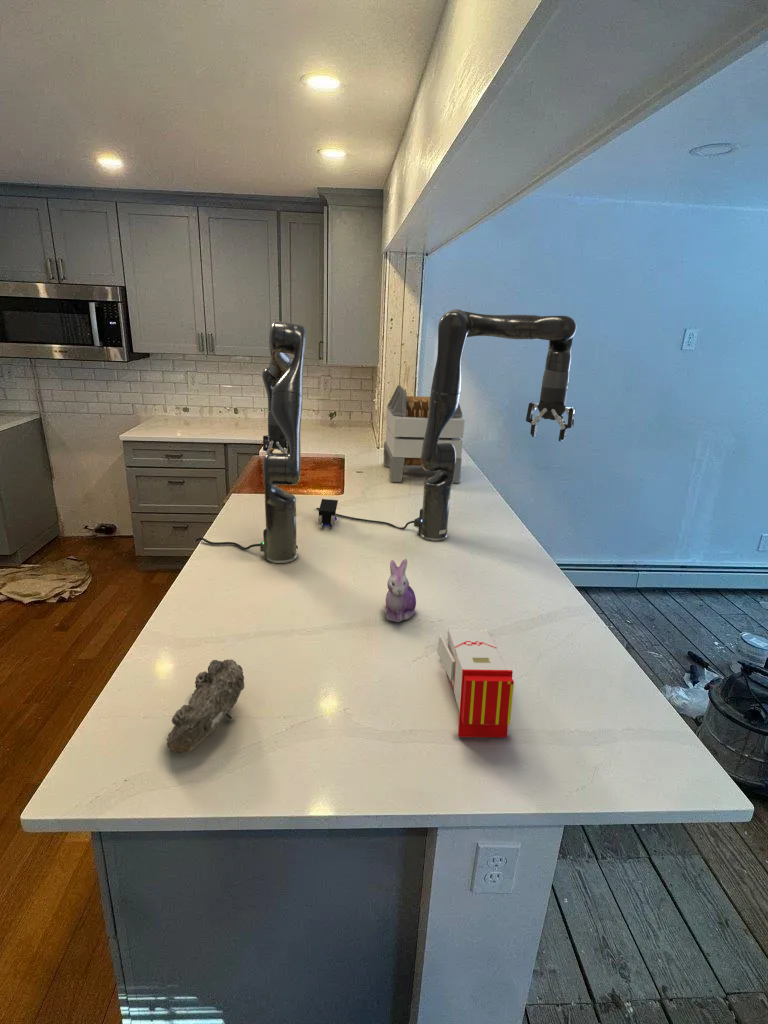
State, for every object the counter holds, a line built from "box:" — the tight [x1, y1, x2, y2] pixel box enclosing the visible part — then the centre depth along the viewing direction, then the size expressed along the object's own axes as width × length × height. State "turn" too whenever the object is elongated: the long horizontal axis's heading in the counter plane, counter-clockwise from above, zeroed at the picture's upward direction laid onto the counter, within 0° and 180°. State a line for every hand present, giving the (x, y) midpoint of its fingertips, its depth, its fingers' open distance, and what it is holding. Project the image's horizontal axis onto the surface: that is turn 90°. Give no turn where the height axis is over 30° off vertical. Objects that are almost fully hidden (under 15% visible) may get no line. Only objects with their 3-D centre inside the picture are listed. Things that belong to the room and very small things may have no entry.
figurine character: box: [317, 498, 339, 530], centre depth 204 cm, size 7×8×15 cm
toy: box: [437, 628, 515, 738], centre depth 117 cm, size 12×13×30 cm
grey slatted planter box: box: [383, 384, 465, 484], centre depth 268 cm, size 34×33×41 cm
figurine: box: [384, 558, 417, 623], centre depth 145 cm, size 9×10×15 cm
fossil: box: [166, 658, 245, 754], centre depth 106 cm, size 22×10×15 cm
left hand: (278, 464), depth 217 cm, fingers open, 8 cm apart
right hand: (547, 438), depth 176 cm, fingers open, 8 cm apart
